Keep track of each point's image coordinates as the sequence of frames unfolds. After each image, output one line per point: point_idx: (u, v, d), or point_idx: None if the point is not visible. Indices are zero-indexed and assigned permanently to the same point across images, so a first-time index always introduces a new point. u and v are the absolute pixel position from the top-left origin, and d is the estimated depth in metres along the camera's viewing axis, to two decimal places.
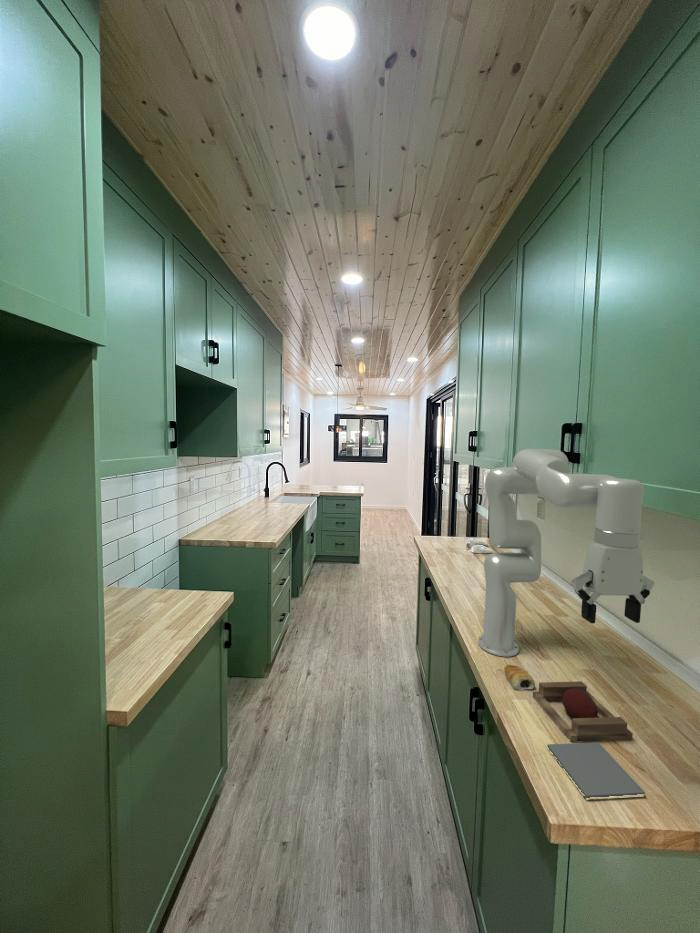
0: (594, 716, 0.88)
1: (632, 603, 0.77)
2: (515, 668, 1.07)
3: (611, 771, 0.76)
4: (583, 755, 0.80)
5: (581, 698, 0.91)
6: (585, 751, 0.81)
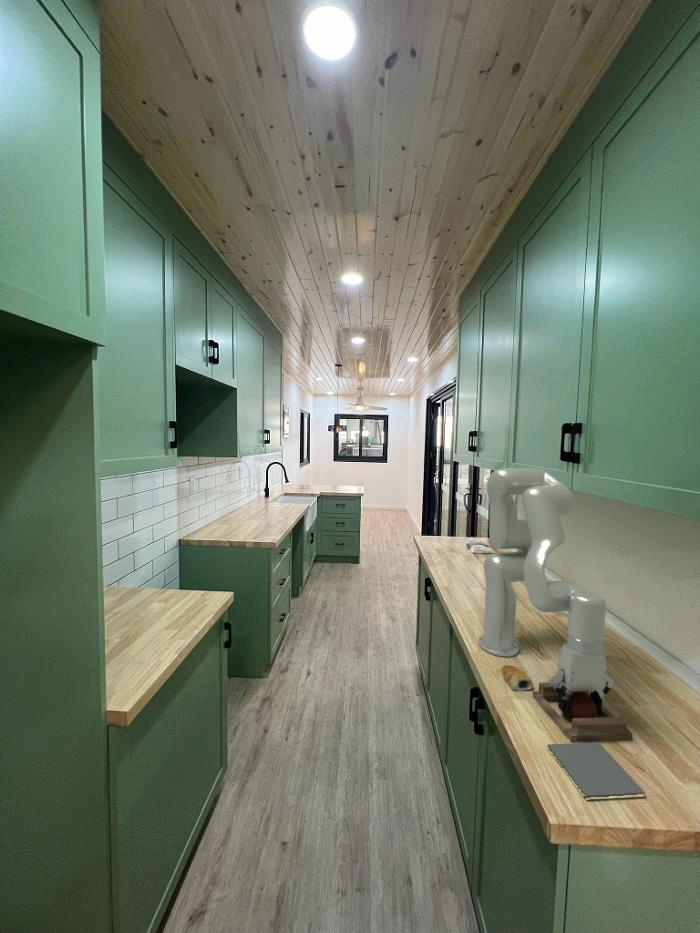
0: (594, 716, 0.88)
1: (595, 698, 0.92)
2: (513, 669, 1.07)
3: (611, 771, 0.76)
4: (583, 755, 0.80)
5: (581, 698, 0.91)
6: (585, 751, 0.81)
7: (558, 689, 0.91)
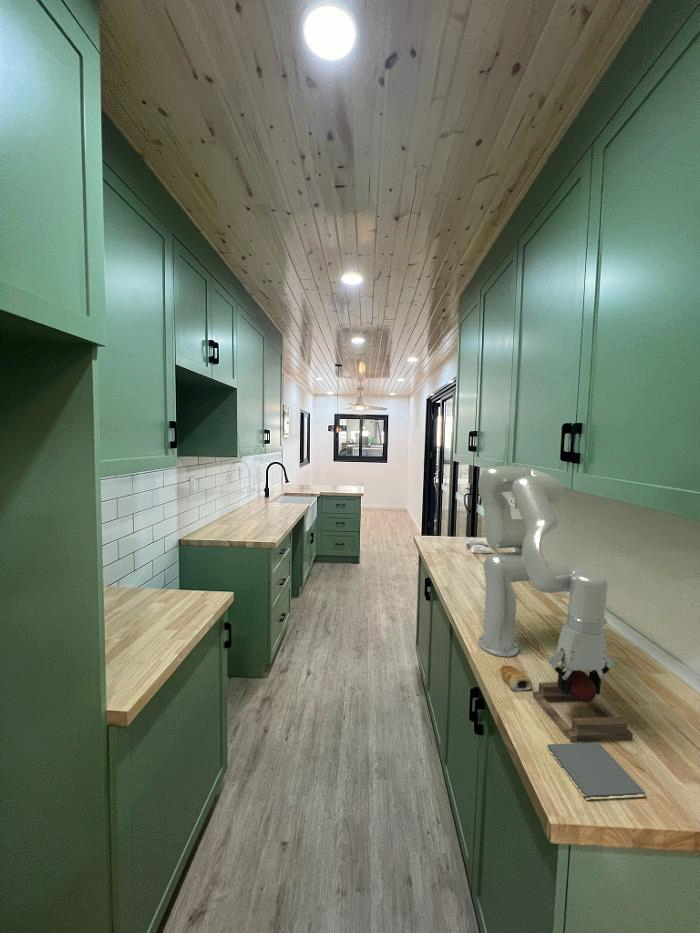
0: (592, 695, 0.88)
1: (594, 677, 0.93)
2: (511, 669, 1.06)
3: (611, 771, 0.76)
4: (583, 755, 0.80)
5: (580, 677, 0.91)
6: (585, 751, 0.81)
7: (558, 668, 0.91)
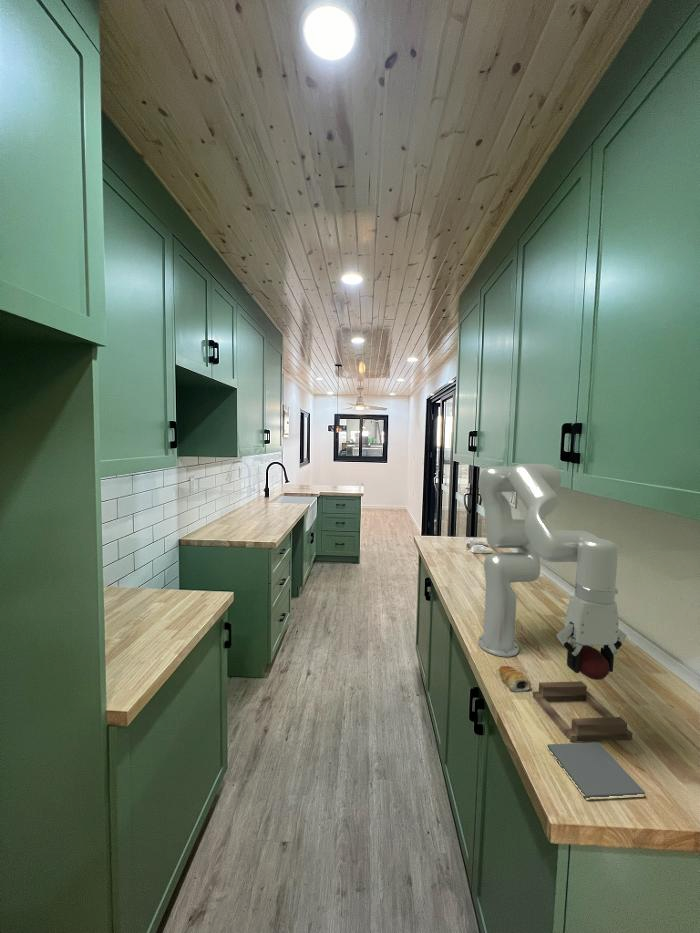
0: (606, 671, 0.81)
1: (606, 653, 0.85)
2: (510, 669, 1.06)
3: (611, 771, 0.76)
4: (583, 755, 0.80)
5: (591, 653, 0.84)
6: (585, 751, 0.81)
7: (567, 643, 0.84)
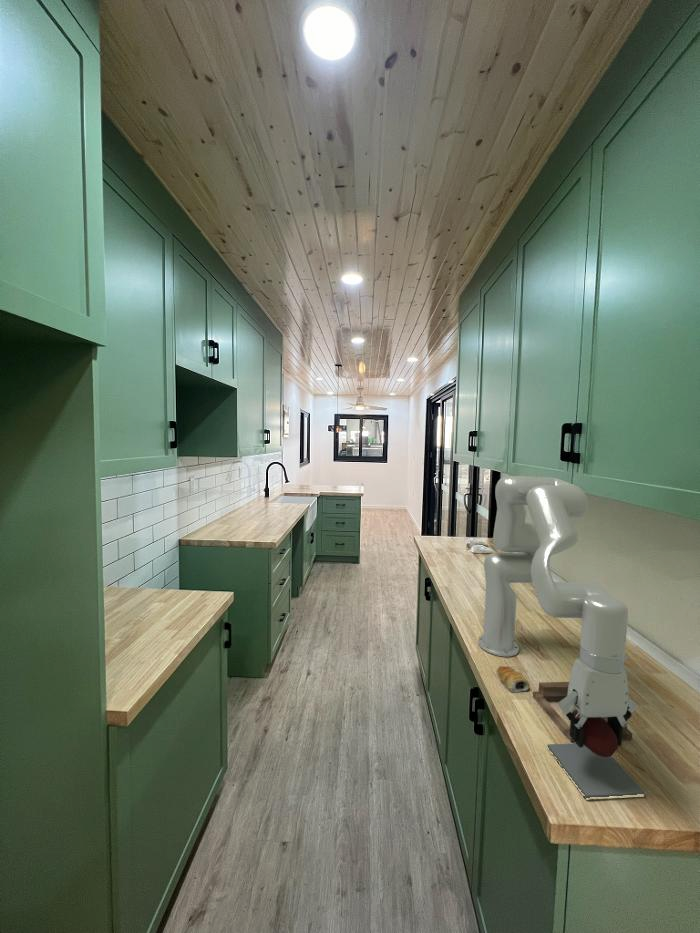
0: (613, 748, 0.72)
1: (614, 724, 0.76)
2: (509, 670, 1.06)
3: (611, 771, 0.76)
4: (583, 755, 0.80)
5: (597, 725, 0.75)
6: (585, 751, 0.81)
7: (570, 714, 0.75)
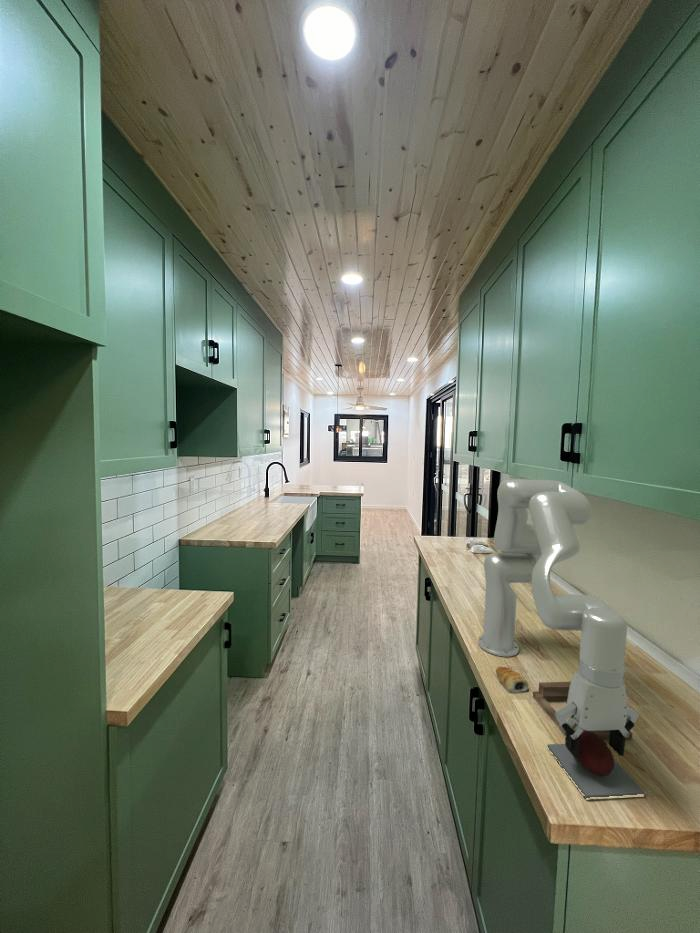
0: (610, 768, 0.73)
1: (616, 735, 0.77)
2: (507, 670, 1.06)
3: None
4: None
5: (594, 744, 0.76)
6: None
7: (565, 725, 0.75)
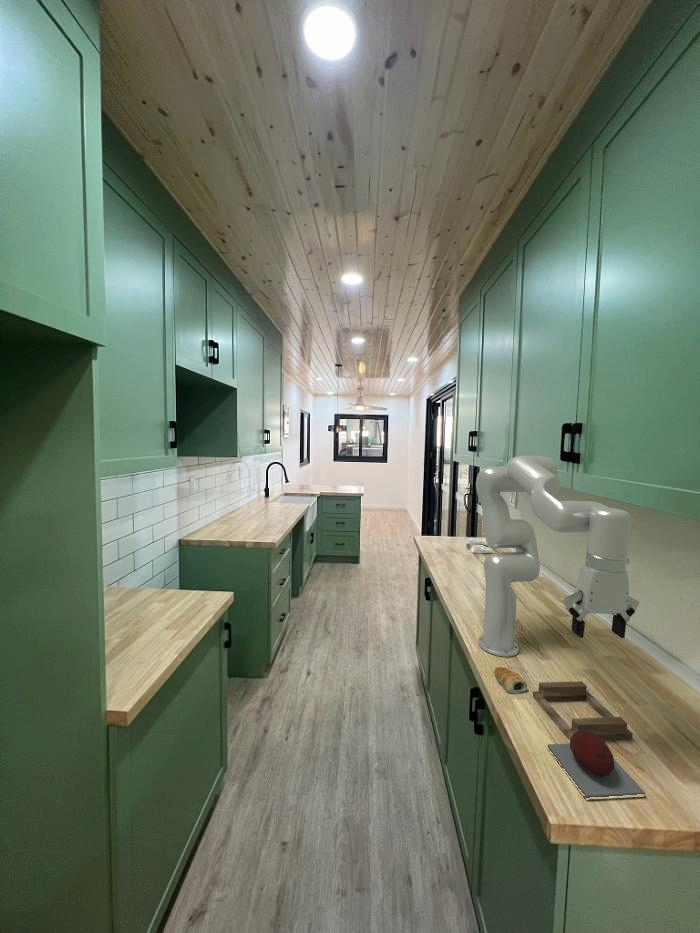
0: (610, 768, 0.73)
1: (618, 620, 0.85)
2: (506, 671, 1.05)
3: None
4: None
5: (594, 744, 0.76)
6: None
7: (572, 609, 0.84)
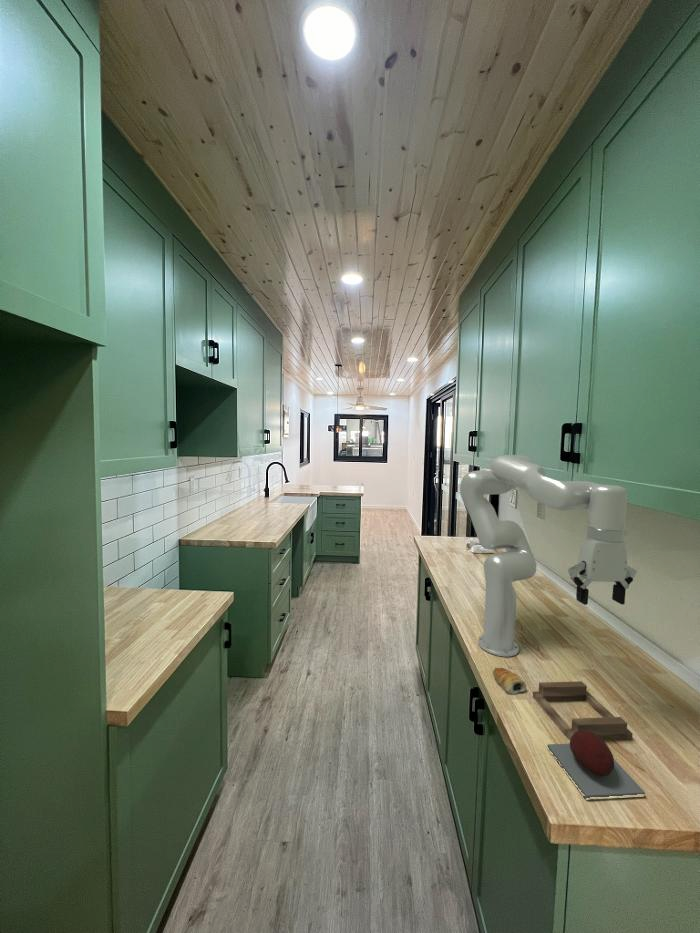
0: (610, 768, 0.73)
1: (618, 588, 0.93)
2: (505, 671, 1.05)
3: None
4: None
5: (594, 744, 0.76)
6: None
7: (576, 578, 0.91)
